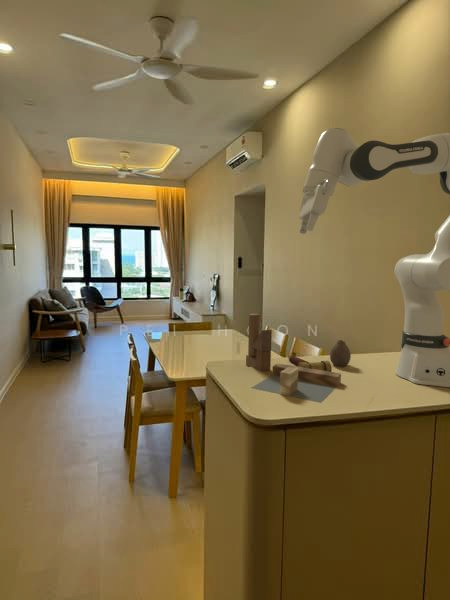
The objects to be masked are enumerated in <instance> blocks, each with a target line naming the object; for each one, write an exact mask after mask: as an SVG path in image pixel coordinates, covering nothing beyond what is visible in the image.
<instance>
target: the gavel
mask: <svg viewBox="0 0 450 600" xmlns="http://www.w3.org/2000/svg"><path fill="white" fill-rule="evenodd" d="M287 359H288V361H289V362H290V363H292V364H294V366H297V367H304V368H310V369H316V370H323V371H329V372H333V371H332V369H333V368H332V364H331V362H330V361H329V360H321V361H317V362H314V361H313V362H309V361H307V360H305V359H302V358H300V357H297V356H295V355H291V356H288V357H287Z"/></svg>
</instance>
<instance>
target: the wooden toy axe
mask: <svg viewBox="0 0 450 600" xmlns="http://www.w3.org/2000/svg"><path fill="white" fill-rule="evenodd" d="M260 318H261V315H260V314H259V313H250V314H248V344H247V345H248V347H247V349H248V350H247V354H246V356H245V365H246V366H247V367H252V368H254V369H257V370H258V371H259V372H268V371H271V367H272V366H271V362H272V336H273V335H272V334H273V333H272V332H273V330H272V329H263V330H261V331H260V322H261V321H260V320H261V319H260Z"/></svg>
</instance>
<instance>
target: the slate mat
mask: <svg viewBox="0 0 450 600" xmlns="http://www.w3.org/2000/svg"><path fill="white" fill-rule="evenodd" d="M336 388H337V387H336V386H330V385H324V384H319V383H313V382H307V381H302V380H298V389H297V390H296V391H295V392H294V393H292V394H291V395H290V396H289V397H291V398H292V397H293V398H296V399H302V400H307V401H311V402H315V403H320V404H321V403H322V402H324V401H325V399H327V398H328V396H329V395H331V393H333V392H334V390H336ZM251 389H255V390H259V391H263V392H267V393H268V392H269V393H273V394H278V395H283V394H280V377H279V376H273V375H272V374H271V375H270V376H268V377H267V378H264V379H263V380H262V381H260V382H258V383H257V384H255V385H253V386H252V387H251ZM283 396H284V395H283Z"/></svg>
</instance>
